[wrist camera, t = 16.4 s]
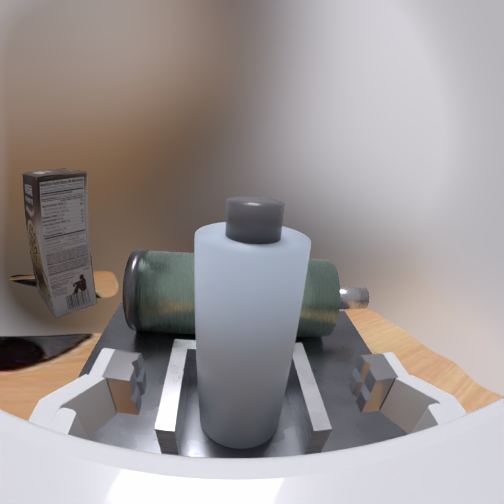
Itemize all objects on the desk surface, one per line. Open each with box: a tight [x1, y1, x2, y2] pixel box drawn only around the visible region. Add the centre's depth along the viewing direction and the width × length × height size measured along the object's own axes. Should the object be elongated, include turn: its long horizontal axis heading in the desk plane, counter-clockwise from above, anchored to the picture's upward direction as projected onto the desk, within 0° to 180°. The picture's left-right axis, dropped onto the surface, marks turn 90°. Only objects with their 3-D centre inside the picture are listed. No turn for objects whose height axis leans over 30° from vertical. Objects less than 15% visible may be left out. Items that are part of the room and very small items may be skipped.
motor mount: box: [77, 249, 408, 458], centre depth 19 cm, size 24×22×10 cm
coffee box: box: [23, 168, 97, 318], centre depth 30 cm, size 9×6×16 cm
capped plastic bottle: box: [194, 197, 311, 449], centre depth 15 cm, size 5×5×14 cm
